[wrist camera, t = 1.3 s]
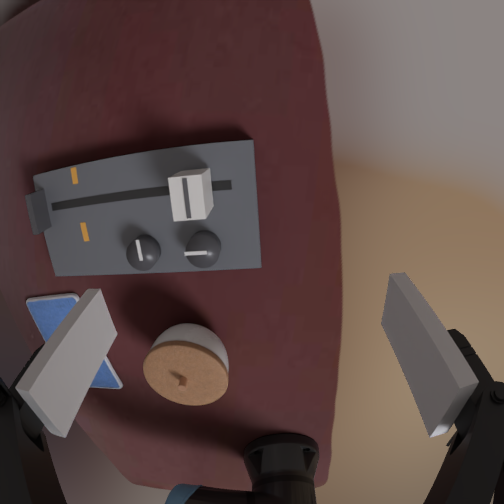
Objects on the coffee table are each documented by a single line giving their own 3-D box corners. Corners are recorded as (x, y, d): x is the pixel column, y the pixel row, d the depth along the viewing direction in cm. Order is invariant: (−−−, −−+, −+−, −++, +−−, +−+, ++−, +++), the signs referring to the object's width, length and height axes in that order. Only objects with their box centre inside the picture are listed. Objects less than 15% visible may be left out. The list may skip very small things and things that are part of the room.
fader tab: (213, 205, 32) (205, 219, 27) (185, 208, 32) (173, 221, 27) (209, 167, 30) (200, 174, 26) (181, 170, 30) (167, 178, 26)
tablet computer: (125, 385, 47) (123, 390, 46) (73, 382, 48) (70, 387, 47) (79, 290, 40) (75, 294, 39) (27, 296, 41) (23, 300, 40)
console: (261, 259, 37) (261, 279, 32) (64, 269, 38) (44, 286, 33) (253, 139, 32) (252, 140, 27) (43, 172, 33) (18, 180, 28)
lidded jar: (161, 300, 40) (139, 343, 31) (240, 320, 40) (235, 368, 32) (155, 357, 43) (138, 402, 35) (224, 374, 44) (218, 422, 36)
